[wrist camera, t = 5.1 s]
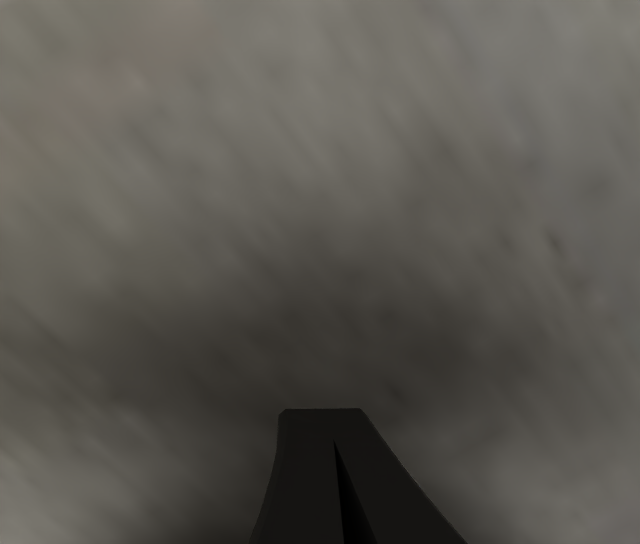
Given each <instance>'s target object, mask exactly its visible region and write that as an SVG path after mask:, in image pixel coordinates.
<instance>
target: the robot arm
mask: <svg viewBox="0 0 640 544" xmlns="http://www.w3.org/2000/svg"><path fill="white" fill-rule="evenodd" d="M249 544H467V542H466V541H465V540H464V539H463V538H462V537H461V536H460V535H459V534H458V533H457V531H456V530H455V529H454V528H453V527H452V526H451V525H450V523H449V522H448V521H447V520H446V519H445V518H444V516H443V515H442V514H441V513H440V512H439V511H438V509H437V508H436V507H435V506H434V504H433V503H432V502H431V501H430V500H429V498H428V497H427V496H426V495H425V493H424V492H423V491H422V490H421V488H420V487H419V486H418V485H417V484H416V482H415V481H414V480H413V479H412V477H411V476H410V475H409V473H408V472H407V471H406V469H405V468H404V467H403V466H402V464H401V463H400V462H399V460H398V459H397V457H396V456H395V455H394V453H393V452H392V451H391V449H390V448H389V447H388V445H387V444H386V442H385V441H384V440H383V438H382V437H381V435H380V434H379V433H378V431H377V430H376V428H375V427H374V425H373V424H372V423H371V421H370V420H369V418H368V417H367V415H366V414H365V413H364V412H363V411H362V410H361V409H360V408H349V409H286V410H284V411H283V412H282V413H281V414H279V417H278V435H277V451H276V456H275V461H274V465H273V470H272V474H271V477H270V481H269V484H268V488H267V491H266V494H265V498H264V501H263V505H262V508H261V511H260V514H259V517H258V520H257V523H256V525H255V528H254V531H253V533H252V536H251V539H250V541H249Z"/></svg>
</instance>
